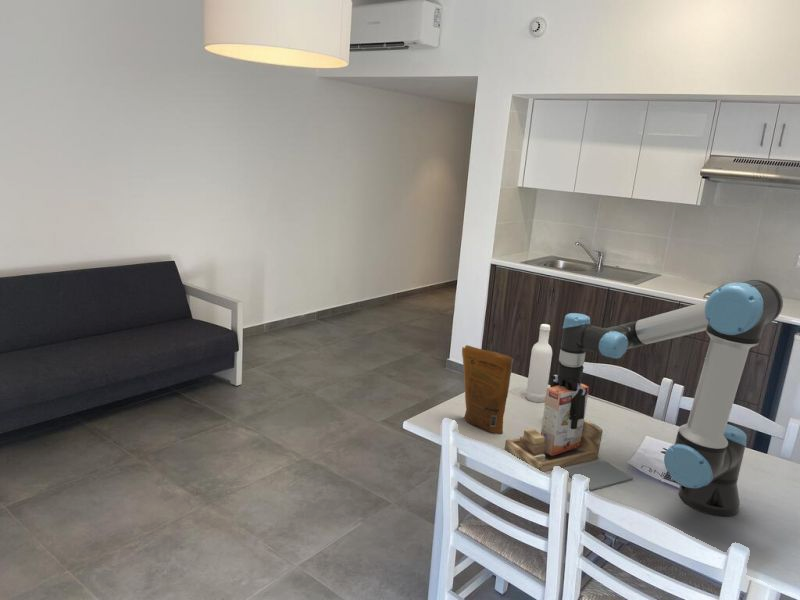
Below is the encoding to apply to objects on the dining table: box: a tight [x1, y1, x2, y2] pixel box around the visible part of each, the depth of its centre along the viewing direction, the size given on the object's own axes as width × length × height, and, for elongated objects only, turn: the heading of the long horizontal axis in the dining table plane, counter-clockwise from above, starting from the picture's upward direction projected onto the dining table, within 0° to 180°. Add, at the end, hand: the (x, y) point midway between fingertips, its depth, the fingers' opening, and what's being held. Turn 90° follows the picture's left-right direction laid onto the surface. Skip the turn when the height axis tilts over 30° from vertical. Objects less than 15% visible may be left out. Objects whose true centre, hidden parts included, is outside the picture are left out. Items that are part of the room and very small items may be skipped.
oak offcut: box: [522, 428, 545, 446], centre depth 183 cm, size 6×4×2 cm, turn 21°
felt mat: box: [566, 460, 634, 492], centre depth 177 cm, size 11×17×1 cm, turn 118°
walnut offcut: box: [519, 435, 545, 456], centre depth 184 cm, size 7×4×3 cm, turn 29°
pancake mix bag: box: [461, 344, 514, 435], centre depth 201 cm, size 7×19×28 cm, turn 46°
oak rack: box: [504, 418, 603, 473], centre depth 187 cm, size 16×24×10 cm, turn 118°
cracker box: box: [540, 382, 590, 457], centre depth 187 cm, size 14×6×21 cm, turn 126°
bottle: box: [525, 323, 553, 404], centre depth 228 cm, size 8×8×30 cm
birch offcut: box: [519, 446, 546, 462], centre depth 185 cm, size 8×4×3 cm, turn 26°
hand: (562, 432), depth 188 cm, fingers closed on cracker box, 6 cm apart
